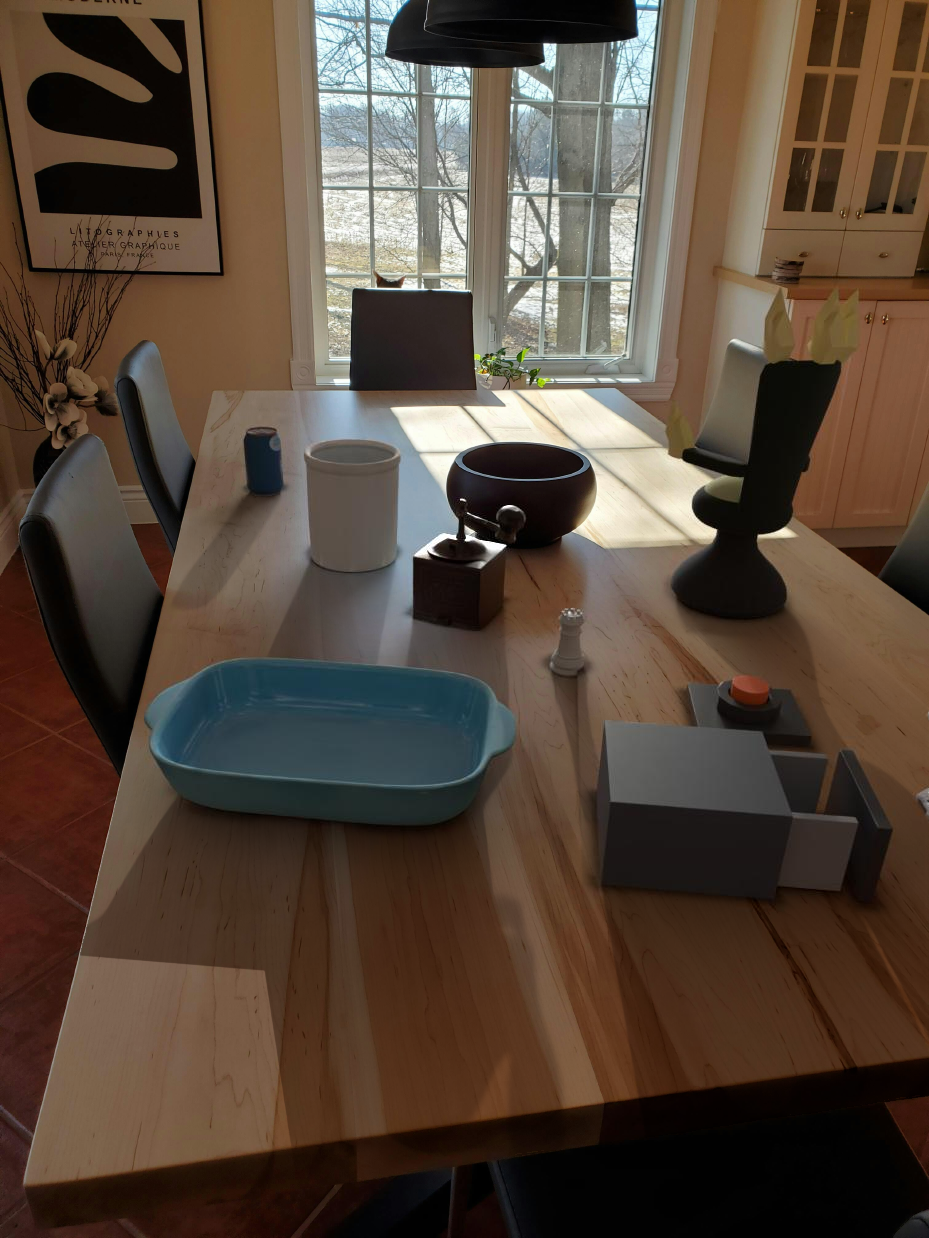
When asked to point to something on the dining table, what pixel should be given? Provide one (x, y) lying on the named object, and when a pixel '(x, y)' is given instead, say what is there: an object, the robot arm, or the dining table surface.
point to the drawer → (831, 825)
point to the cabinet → (690, 810)
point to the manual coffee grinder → (464, 573)
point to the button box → (749, 713)
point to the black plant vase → (762, 465)
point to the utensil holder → (353, 503)
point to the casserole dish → (329, 739)
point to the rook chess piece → (569, 645)
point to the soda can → (263, 461)
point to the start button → (750, 690)
